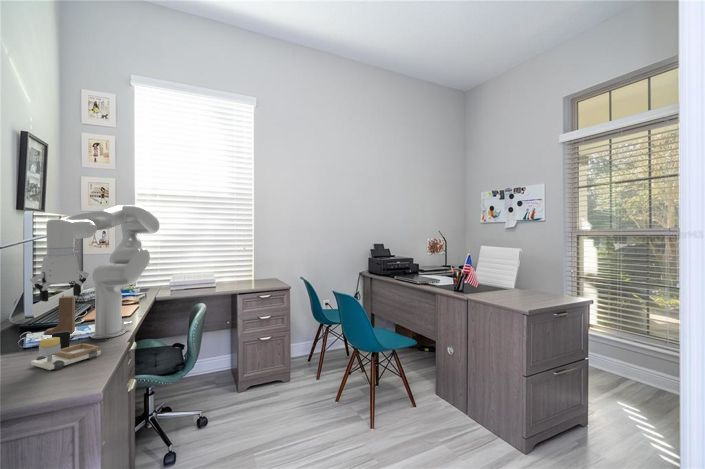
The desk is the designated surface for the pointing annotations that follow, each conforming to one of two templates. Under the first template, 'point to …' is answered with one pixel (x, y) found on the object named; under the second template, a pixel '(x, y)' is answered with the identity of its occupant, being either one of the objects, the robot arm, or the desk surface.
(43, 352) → the yellow white block
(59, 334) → the ink cartridge
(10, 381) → the desk surface
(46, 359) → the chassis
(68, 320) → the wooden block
